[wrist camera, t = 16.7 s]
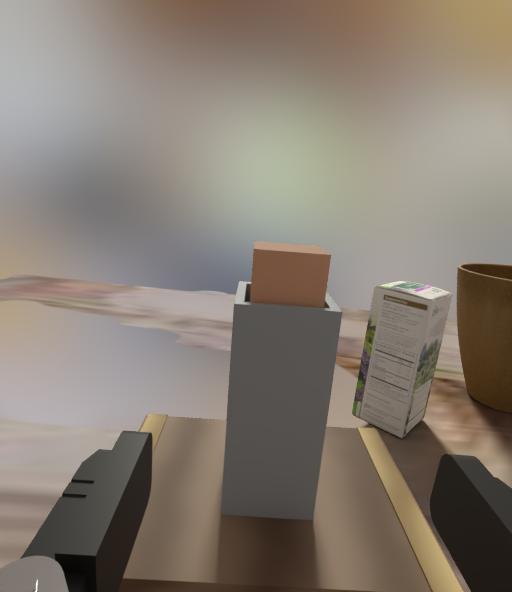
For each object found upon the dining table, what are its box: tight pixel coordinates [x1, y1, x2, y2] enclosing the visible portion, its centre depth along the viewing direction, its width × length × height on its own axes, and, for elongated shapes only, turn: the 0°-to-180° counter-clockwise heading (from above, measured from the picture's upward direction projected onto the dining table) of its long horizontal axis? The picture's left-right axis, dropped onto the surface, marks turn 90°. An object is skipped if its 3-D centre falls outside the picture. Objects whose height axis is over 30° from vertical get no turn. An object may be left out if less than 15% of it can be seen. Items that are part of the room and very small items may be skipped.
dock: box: [118, 414, 465, 592], centre depth 25 cm, size 20×14×3 cm
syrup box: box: [352, 281, 452, 438], centre depth 38 cm, size 6×6×14 cm
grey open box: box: [221, 281, 342, 520], centre depth 23 cm, size 6×6×13 cm
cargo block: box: [250, 241, 331, 308], centre depth 22 cm, size 4×4×4 cm
